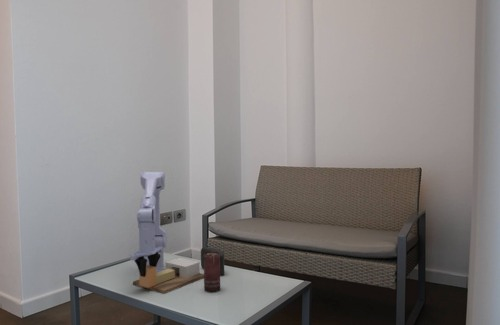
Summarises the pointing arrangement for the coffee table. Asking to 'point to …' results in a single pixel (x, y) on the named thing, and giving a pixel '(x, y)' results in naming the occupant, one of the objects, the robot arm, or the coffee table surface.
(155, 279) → the tan wooden l-shaped block
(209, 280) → the can
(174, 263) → the block
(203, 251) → the leaning round-cornered charcoal block
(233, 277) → the coffee table surface
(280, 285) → the coffee table surface
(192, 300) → the coffee table surface
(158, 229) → the robot arm
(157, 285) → the walnut board
